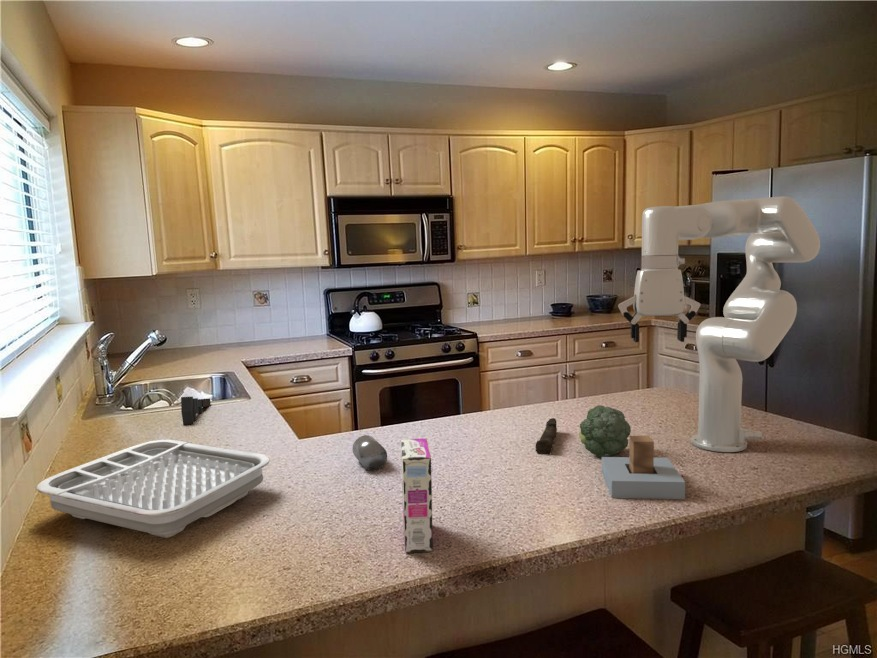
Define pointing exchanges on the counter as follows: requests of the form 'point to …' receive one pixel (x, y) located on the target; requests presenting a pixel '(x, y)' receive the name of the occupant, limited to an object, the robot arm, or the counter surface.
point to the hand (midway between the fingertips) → (658, 341)
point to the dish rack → (156, 485)
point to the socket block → (642, 480)
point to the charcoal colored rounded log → (547, 438)
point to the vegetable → (604, 431)
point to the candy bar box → (417, 495)
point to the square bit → (641, 455)
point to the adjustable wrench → (192, 408)
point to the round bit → (369, 453)
